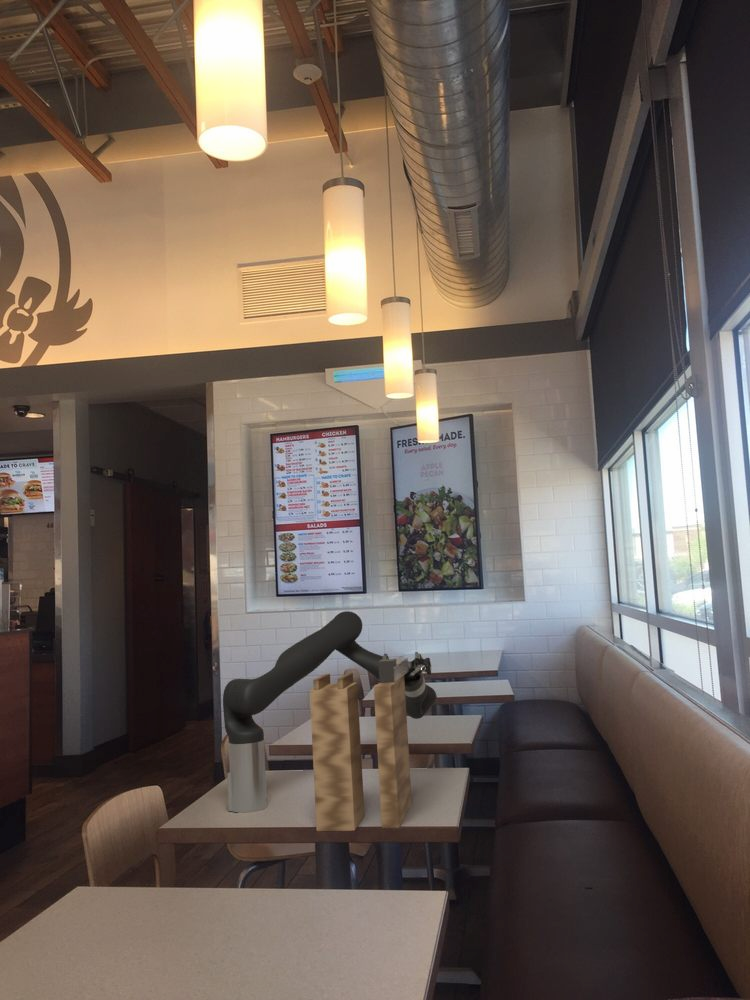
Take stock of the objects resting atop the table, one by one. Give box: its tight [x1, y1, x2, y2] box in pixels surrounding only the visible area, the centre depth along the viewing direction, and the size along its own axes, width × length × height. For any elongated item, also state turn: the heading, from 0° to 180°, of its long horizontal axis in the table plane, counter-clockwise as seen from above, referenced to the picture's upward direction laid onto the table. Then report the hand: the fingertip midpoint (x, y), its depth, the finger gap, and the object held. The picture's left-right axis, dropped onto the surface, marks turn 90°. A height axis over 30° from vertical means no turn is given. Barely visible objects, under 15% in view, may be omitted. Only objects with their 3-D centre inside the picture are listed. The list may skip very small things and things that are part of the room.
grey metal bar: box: [378, 657, 409, 683], centre depth 214 cm, size 25×4×5 cm, turn 170°
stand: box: [309, 672, 413, 832], centre depth 204 cm, size 19×24×34 cm
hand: (400, 656), depth 224 cm, fingers open, 8 cm apart
